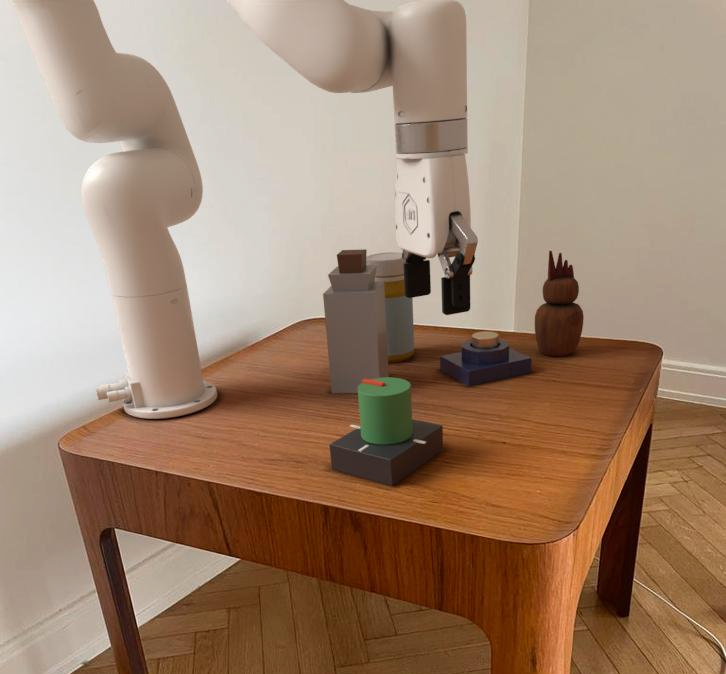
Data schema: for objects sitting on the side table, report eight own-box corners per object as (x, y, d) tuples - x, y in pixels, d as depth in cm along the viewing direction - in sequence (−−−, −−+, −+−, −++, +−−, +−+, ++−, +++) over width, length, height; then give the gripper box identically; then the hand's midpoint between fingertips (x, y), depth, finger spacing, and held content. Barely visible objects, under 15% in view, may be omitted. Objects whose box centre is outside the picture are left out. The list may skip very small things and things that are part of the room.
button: (480, 352, 102) (480, 340, 101) (467, 346, 105) (467, 334, 104) (503, 348, 103) (503, 335, 102) (489, 341, 106) (489, 329, 105)
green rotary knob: (422, 430, 81) (421, 379, 78) (392, 449, 77) (390, 396, 74) (381, 420, 84) (378, 371, 81) (350, 438, 80) (346, 387, 78)
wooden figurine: (535, 360, 108) (539, 254, 102) (532, 348, 114) (536, 246, 107) (583, 359, 108) (591, 252, 101) (577, 347, 113) (584, 244, 106)
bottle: (408, 364, 111) (404, 260, 104) (363, 363, 112) (356, 261, 106) (418, 350, 116) (415, 251, 110) (375, 349, 118) (369, 252, 112)
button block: (468, 386, 101) (468, 358, 99) (440, 370, 107) (439, 343, 105) (531, 373, 104) (532, 345, 102) (499, 358, 110) (500, 331, 109)
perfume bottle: (380, 393, 100) (372, 256, 92) (331, 393, 102) (319, 258, 94) (388, 376, 106) (382, 246, 98) (342, 376, 108) (332, 247, 99)
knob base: (399, 488, 76) (398, 460, 74) (325, 467, 81) (322, 441, 80) (450, 451, 83) (449, 425, 81) (378, 434, 88) (377, 410, 87)
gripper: (367, 143, 84) (377, 295, 92) (436, 145, 70) (441, 326, 77) (427, 136, 86) (432, 285, 94) (506, 138, 72) (504, 314, 80)
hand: (436, 303), depth 86 cm, fingers open, 9 cm apart
